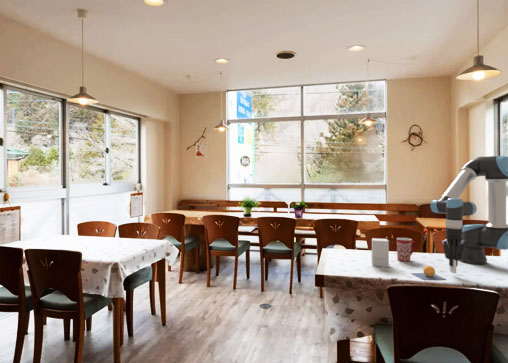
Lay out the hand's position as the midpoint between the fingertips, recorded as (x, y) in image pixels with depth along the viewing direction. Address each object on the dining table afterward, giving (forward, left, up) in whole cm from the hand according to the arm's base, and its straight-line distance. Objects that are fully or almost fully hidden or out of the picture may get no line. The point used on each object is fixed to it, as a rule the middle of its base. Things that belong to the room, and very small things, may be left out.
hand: (453, 272), depth 190 cm
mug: (+6, -36, -2) cm, 37 cm away
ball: (+14, 0, +1) cm, 14 cm away
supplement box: (+28, -26, -2) cm, 38 cm away
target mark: (+14, 0, -2) cm, 14 cm away
